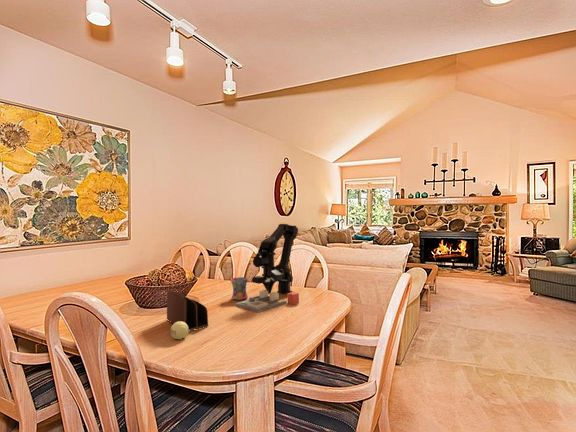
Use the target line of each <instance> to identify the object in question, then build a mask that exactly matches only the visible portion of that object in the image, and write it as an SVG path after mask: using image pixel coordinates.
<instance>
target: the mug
mask: <svg viewBox="0 0 576 432" xmlns="http://www.w3.org/2000/svg"><path fill="white" fill-rule="evenodd" d="M248 281H249V278H248V277H245V276H244V277H243V276H242V277H240V276H239V277H233V278H230V282H231V284H232V289H233V291H232V296H231V299H232V300H235V301H243V300H246V299H247V298H248V293H247V283H248Z"/></svg>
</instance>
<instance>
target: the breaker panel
mask: <svg viewBox="0 0 576 432" xmlns="http://www.w3.org/2000/svg"><path fill="white" fill-rule="evenodd" d="M285 304H288V300H284V299H281V298H279V299H277V300H273V301H271V300H270V295H268V297H264V298H259V295H256V296H253V297H252V296H250V297H249V299H248V300H246V299H245V300H244V301H243V300H241V301H239V302H235V306H236V307H239V308H242V309H245V310H249V311H253V312H256V313H259V312H262V311H266V310H269V309H272V308H276V307H280V306H283V305H285Z"/></svg>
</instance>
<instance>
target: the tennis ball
mask: <svg viewBox="0 0 576 432" xmlns="http://www.w3.org/2000/svg"><path fill="white" fill-rule="evenodd" d="M169 332H170V336H171V337H172V339H173V340H175V339H181V340H183V339H182V338H184V339H185V338H187V336H188V335H189V329H188V325H187V324H186V323H185V322H182V321H178V322H175V323H174V324H171V327H170V331H169Z"/></svg>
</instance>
